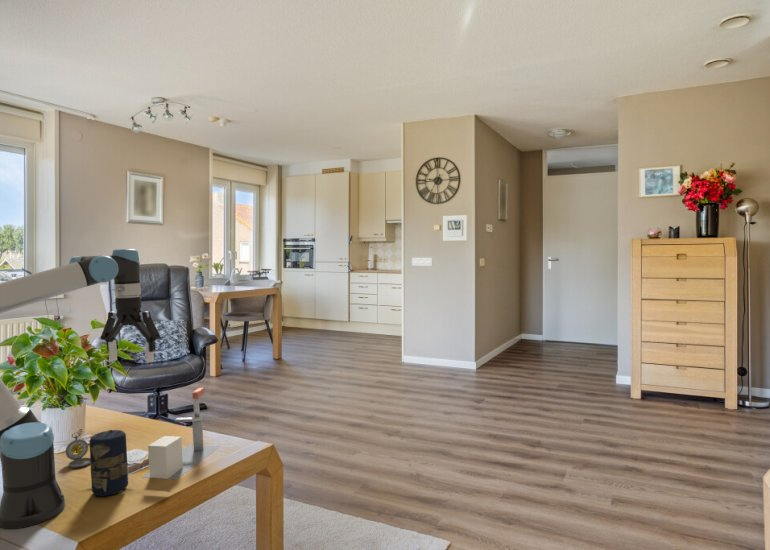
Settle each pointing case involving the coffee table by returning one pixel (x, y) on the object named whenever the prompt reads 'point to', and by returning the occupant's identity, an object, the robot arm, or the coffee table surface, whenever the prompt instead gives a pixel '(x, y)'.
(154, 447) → the white block
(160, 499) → the coffee table surface
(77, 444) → the pocket watch
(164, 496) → the coffee table surface
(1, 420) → the robot arm
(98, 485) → the canister
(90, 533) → the coffee table surface
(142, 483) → the coffee table surface
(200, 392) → the multicoloured piece
